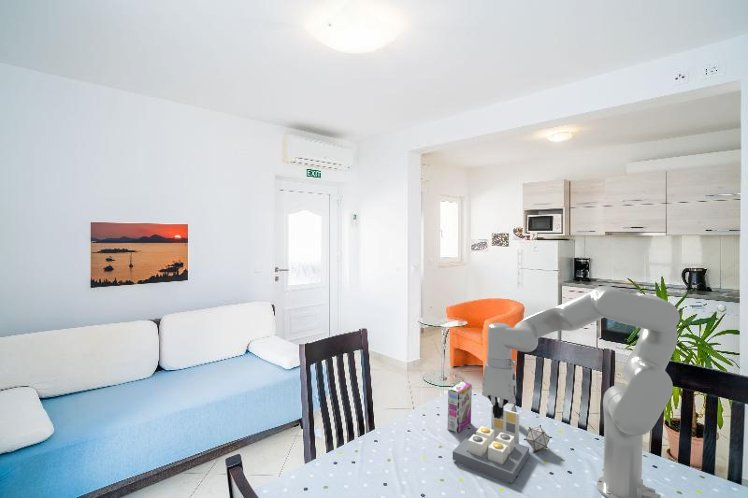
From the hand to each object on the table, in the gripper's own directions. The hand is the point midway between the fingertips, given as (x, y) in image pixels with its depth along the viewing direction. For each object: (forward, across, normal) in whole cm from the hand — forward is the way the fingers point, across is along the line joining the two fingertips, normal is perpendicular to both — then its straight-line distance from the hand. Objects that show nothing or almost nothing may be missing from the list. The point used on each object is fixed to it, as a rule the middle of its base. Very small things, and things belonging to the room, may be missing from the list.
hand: (498, 416), depth 125 cm
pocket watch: (+17, +6, -30) cm, 36 cm away
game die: (+17, -8, -19) cm, 27 cm away
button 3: (+15, 0, -7) cm, 16 cm away
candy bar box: (+18, +21, -17) cm, 33 cm away
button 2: (+15, +7, 0) cm, 16 cm away
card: (+17, +3, -17) cm, 25 cm away
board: (+17, +3, -3) cm, 18 cm away
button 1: (+15, +7, -7) cm, 18 cm away
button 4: (+15, 0, 0) cm, 15 cm away
